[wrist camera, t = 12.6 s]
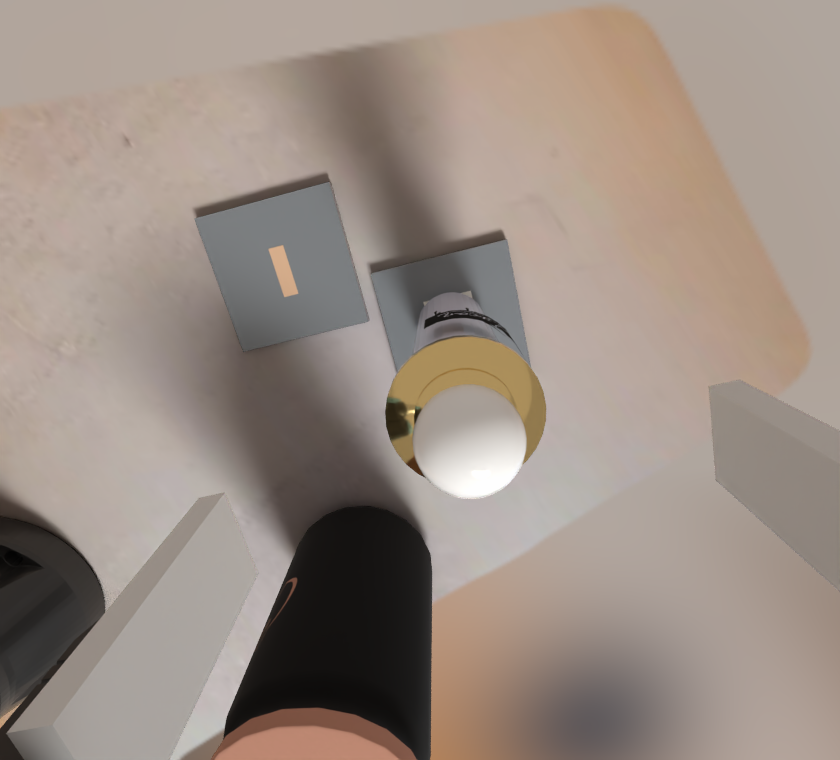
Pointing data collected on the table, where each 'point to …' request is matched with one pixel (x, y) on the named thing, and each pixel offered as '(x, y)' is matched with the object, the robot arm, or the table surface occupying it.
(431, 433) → the perfume bottle
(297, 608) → the coffee jar
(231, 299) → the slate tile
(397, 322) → the slate code tile
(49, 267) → the table surface
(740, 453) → the robot arm
